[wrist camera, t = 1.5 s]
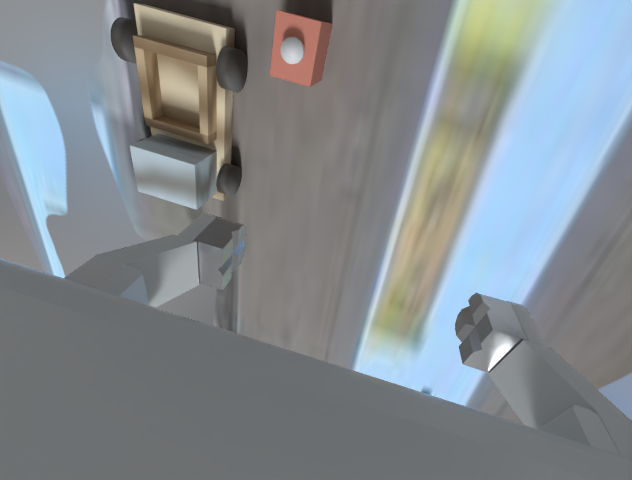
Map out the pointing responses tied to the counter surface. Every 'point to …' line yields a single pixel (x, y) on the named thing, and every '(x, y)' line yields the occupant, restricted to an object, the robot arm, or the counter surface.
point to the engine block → (299, 48)
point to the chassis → (183, 103)
